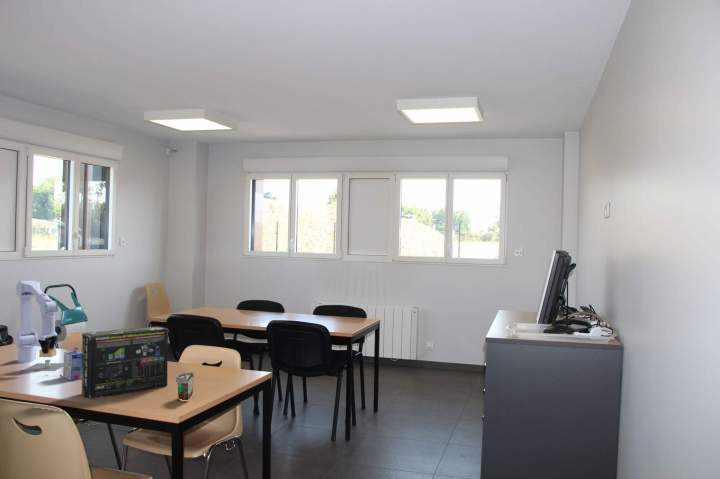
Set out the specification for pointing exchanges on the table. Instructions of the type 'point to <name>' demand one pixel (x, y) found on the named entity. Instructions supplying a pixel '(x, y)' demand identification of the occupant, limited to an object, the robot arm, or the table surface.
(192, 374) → the food container
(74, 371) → the ink cartridge box
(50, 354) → the wooden collar
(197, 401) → the table surface
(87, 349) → the router box
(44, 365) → the board
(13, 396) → the table surface
